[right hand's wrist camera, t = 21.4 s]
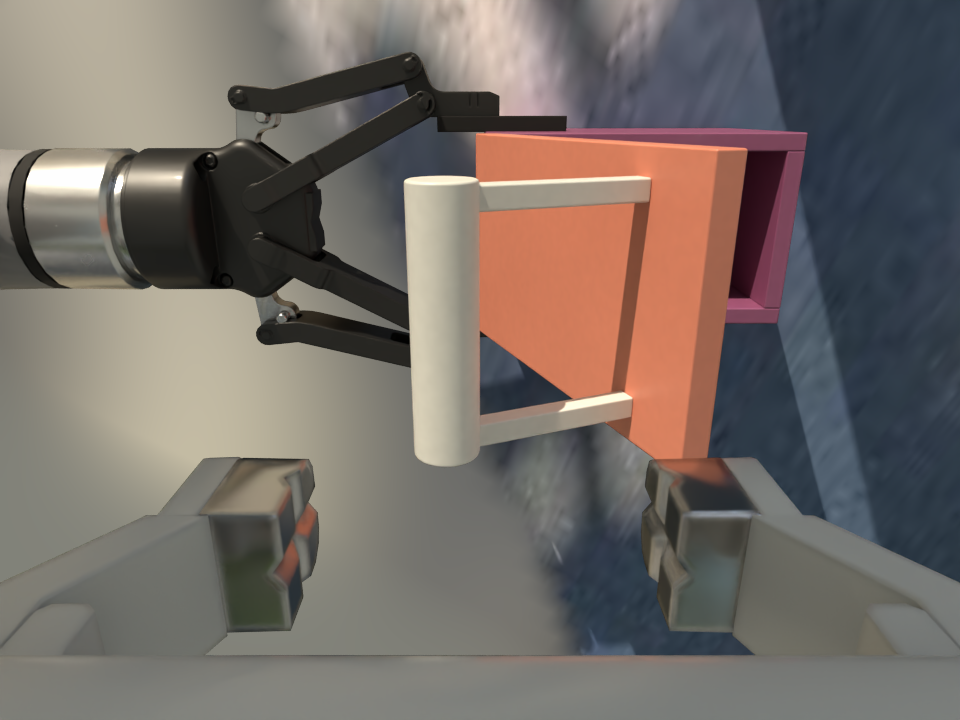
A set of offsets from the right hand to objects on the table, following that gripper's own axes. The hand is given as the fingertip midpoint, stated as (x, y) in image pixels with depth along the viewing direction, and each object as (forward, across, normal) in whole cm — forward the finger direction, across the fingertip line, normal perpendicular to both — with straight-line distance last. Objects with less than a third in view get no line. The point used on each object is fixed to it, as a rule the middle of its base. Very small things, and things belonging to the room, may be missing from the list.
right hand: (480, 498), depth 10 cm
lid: (+16, -4, 0) cm, 17 cm away
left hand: (+28, -4, 0) cm, 29 cm away
